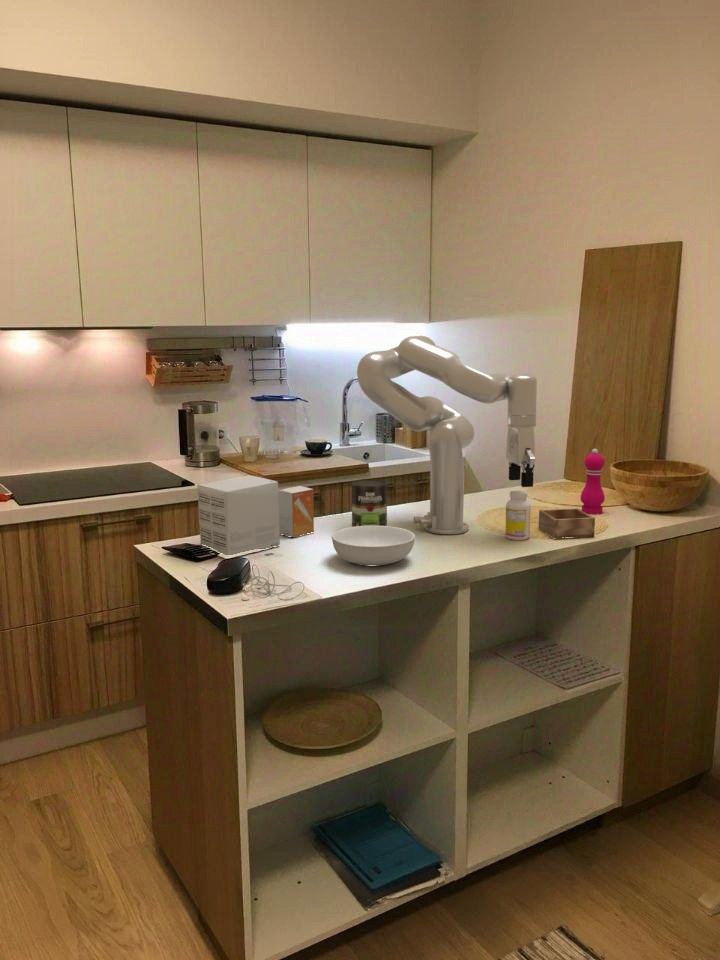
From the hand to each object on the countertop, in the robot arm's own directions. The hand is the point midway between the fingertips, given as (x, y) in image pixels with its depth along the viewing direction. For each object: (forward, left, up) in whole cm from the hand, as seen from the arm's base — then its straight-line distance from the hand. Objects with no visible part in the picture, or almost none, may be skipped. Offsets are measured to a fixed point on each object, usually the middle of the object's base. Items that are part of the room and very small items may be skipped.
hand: (520, 483), depth 220 cm
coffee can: (-39, +15, -16) cm, 45 cm away
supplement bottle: (0, 0, -16) cm, 16 cm away
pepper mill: (+33, +24, -16) cm, 44 cm away
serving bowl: (-43, -14, -16) cm, 48 cm away
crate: (+15, +2, -15) cm, 21 cm away
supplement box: (-76, +3, -16) cm, 78 cm away
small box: (-60, +15, -16) cm, 64 cm away
